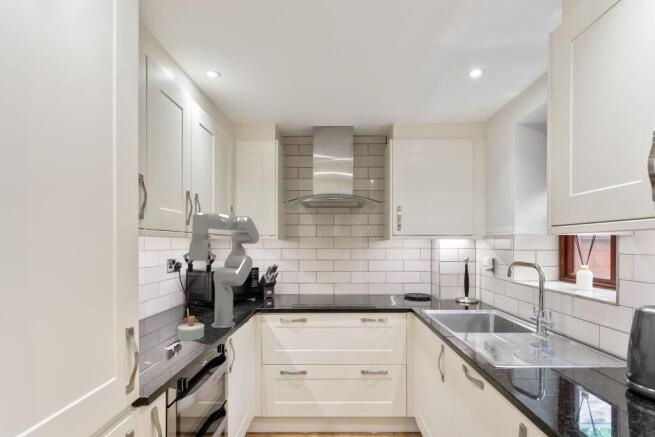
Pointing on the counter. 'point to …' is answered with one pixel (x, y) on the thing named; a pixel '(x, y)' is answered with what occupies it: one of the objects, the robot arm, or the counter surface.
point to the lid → (191, 325)
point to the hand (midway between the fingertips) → (199, 272)
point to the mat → (171, 346)
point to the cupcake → (187, 319)
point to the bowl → (190, 335)
